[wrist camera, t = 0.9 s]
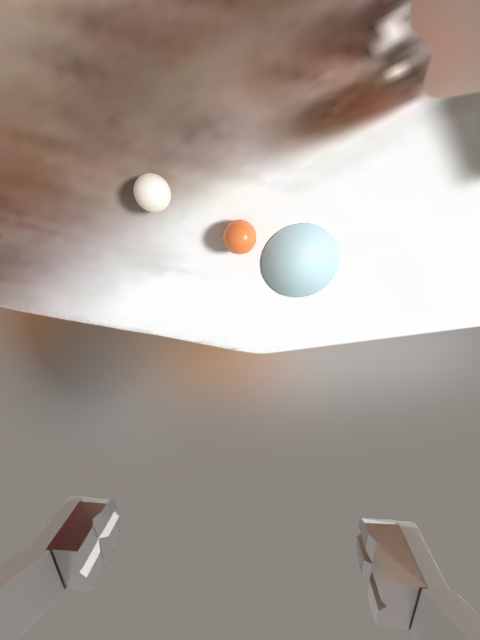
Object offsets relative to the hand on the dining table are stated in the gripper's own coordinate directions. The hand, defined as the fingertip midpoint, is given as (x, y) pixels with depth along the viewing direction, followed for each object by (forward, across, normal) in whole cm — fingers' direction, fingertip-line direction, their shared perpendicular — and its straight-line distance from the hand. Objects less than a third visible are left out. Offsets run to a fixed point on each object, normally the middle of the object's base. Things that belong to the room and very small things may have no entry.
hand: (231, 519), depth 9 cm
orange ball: (+40, +4, -8) cm, 41 cm away
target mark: (+44, -7, -4) cm, 45 cm away
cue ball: (+37, +17, -16) cm, 44 cm away
